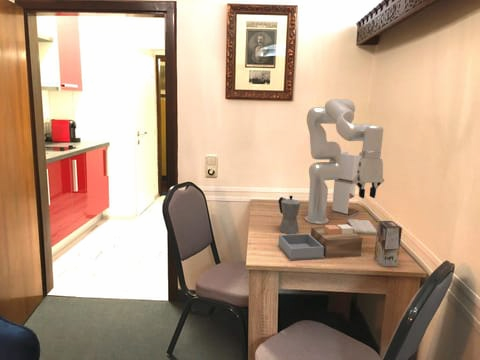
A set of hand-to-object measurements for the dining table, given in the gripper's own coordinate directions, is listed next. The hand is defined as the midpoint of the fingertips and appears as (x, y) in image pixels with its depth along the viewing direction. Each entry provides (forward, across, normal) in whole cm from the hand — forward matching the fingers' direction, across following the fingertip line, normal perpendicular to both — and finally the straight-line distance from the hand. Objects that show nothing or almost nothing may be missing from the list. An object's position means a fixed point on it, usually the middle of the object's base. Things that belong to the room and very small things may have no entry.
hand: (366, 196), depth 165 cm
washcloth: (+24, +14, +25) cm, 37 cm away
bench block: (+23, -13, 0) cm, 27 cm away
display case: (+24, +18, +50) cm, 58 cm away
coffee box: (+24, +2, -15) cm, 28 cm away
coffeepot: (+24, -25, +27) cm, 44 cm away
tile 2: (+15, -9, 0) cm, 18 cm away
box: (+23, -29, 0) cm, 37 cm away
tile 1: (+15, -15, 0) cm, 21 cm away
